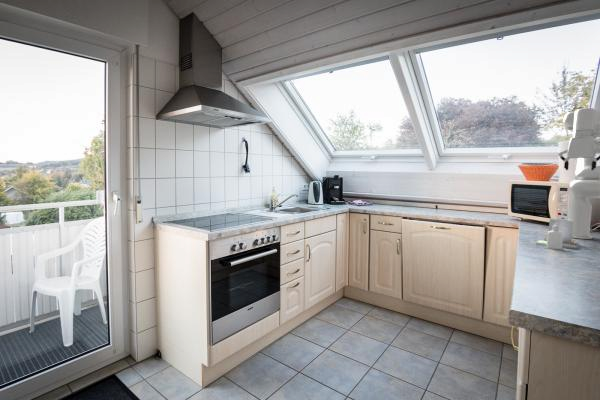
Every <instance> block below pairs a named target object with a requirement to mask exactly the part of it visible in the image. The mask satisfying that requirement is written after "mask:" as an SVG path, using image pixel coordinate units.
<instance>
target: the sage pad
mask: <svg viewBox="0 0 600 400" xmlns="http://www.w3.org/2000/svg"><path fill="white" fill-rule="evenodd" d="M536 245H538V246H540V245H541V246H546V247H547V241H544V240H540V239H539V240H537V241H536Z"/></svg>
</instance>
